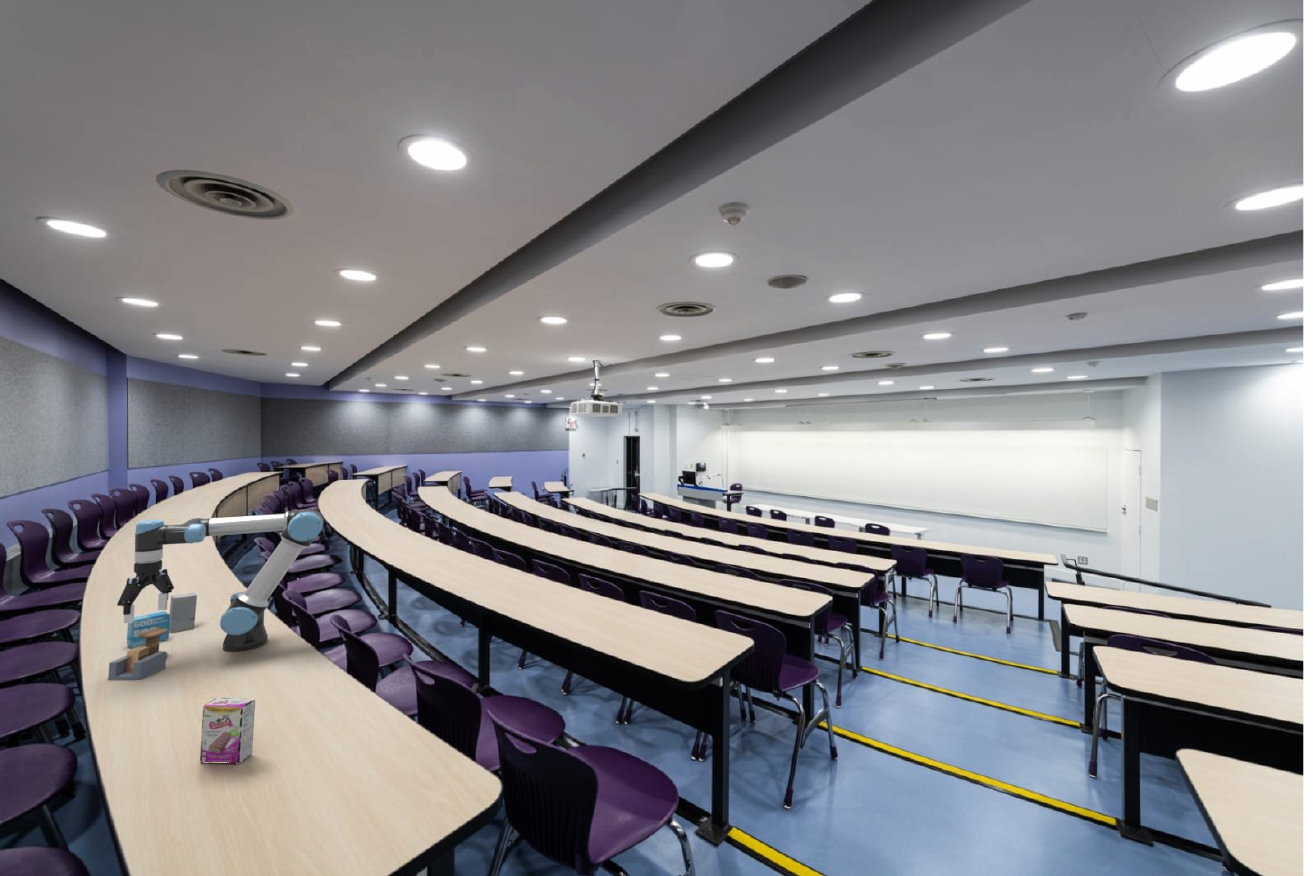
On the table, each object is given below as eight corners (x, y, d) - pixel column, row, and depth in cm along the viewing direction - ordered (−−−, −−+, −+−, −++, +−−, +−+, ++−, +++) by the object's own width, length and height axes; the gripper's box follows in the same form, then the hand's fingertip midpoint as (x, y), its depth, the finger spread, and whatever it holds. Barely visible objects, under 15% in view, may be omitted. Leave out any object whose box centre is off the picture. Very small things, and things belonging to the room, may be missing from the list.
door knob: (173, 654, 199) (175, 627, 200) (152, 664, 190) (154, 636, 191) (150, 654, 199) (151, 627, 199) (128, 664, 190) (129, 636, 190)
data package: (129, 649, 202) (131, 620, 202) (126, 646, 204) (128, 618, 205) (168, 640, 212) (170, 612, 213) (165, 637, 215) (167, 610, 215)
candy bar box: (198, 764, 135) (201, 706, 136) (213, 753, 140) (217, 696, 141) (238, 765, 136) (242, 707, 136) (253, 754, 141) (256, 697, 141)
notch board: (165, 667, 188) (166, 651, 188) (139, 679, 178) (140, 663, 179) (135, 667, 188) (136, 651, 188) (108, 679, 178) (109, 662, 178)
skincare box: (170, 633, 219) (172, 598, 219) (167, 629, 223) (169, 595, 223) (195, 628, 226) (197, 594, 226) (192, 624, 230) (194, 591, 230)
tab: (147, 667, 185) (149, 646, 185) (137, 672, 181) (138, 651, 181) (136, 667, 185) (137, 646, 185) (125, 672, 181) (127, 651, 181)
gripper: (167, 553, 198) (165, 605, 197) (104, 569, 173) (101, 628, 173) (187, 553, 198) (185, 604, 198) (127, 569, 174) (124, 628, 173)
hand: (146, 616), depth 185 cm, fingers open, 13 cm apart
